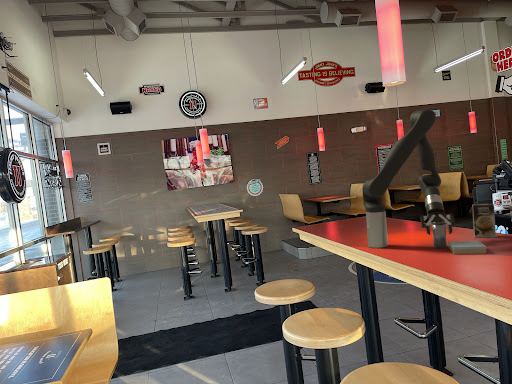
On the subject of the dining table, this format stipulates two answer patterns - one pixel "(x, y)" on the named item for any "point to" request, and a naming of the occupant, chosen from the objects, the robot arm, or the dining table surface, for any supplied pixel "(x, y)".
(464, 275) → the dining table surface
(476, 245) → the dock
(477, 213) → the coffee box
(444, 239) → the canister
